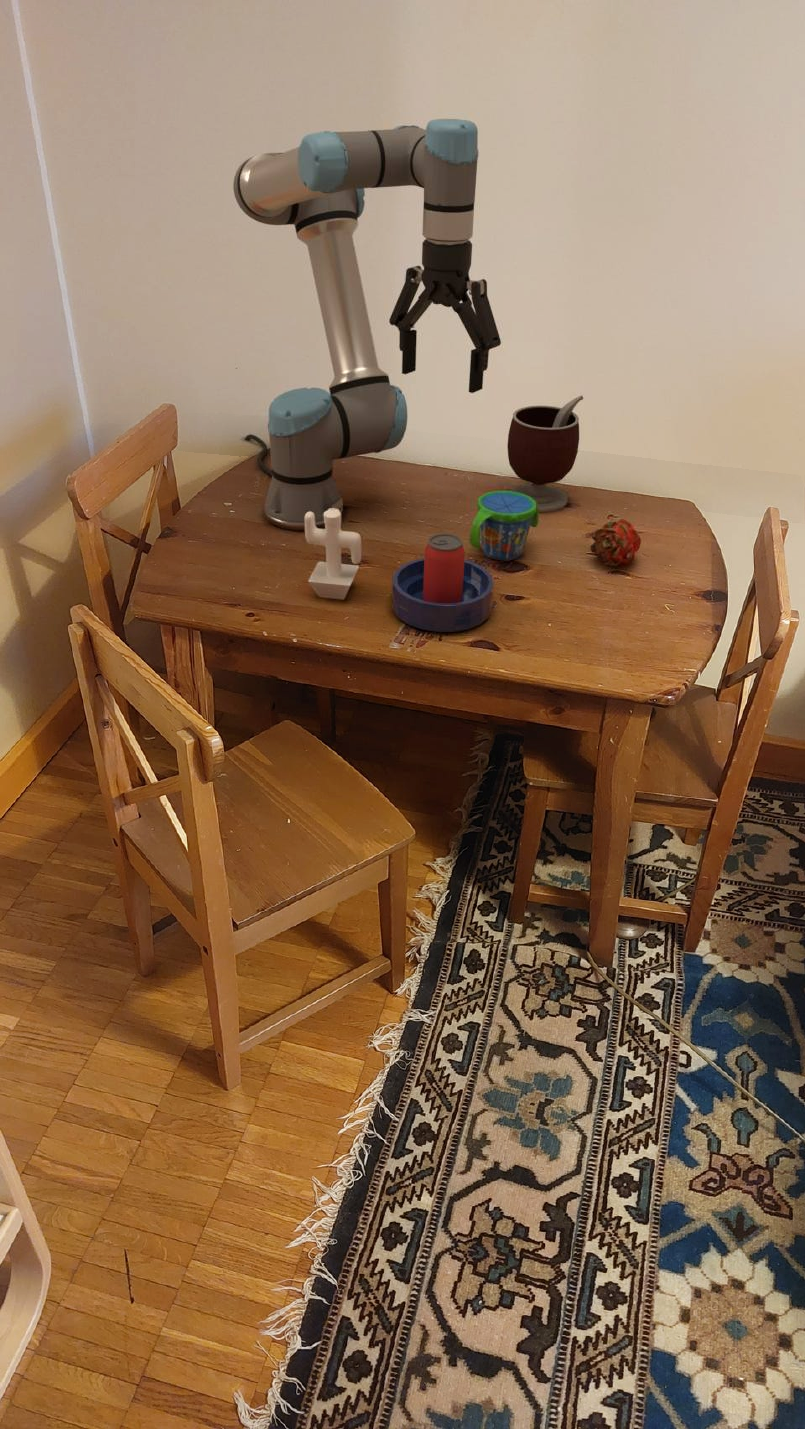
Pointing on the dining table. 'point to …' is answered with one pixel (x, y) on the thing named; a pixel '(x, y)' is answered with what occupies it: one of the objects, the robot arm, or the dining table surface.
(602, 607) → the dining table surface
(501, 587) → the dining table surface
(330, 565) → the figurine
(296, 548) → the dining table surface
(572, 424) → the mate gourd
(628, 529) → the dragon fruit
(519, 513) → the snack cup
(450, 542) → the beer can
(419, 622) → the bowl
